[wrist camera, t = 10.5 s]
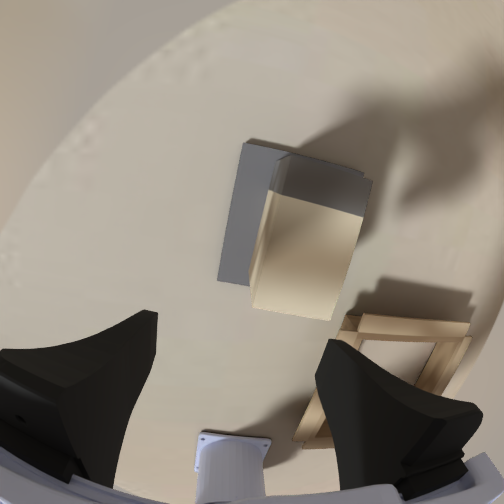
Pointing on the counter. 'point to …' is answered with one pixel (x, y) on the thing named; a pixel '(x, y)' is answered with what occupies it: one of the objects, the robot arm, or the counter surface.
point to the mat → (251, 208)
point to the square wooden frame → (392, 329)
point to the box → (306, 237)
